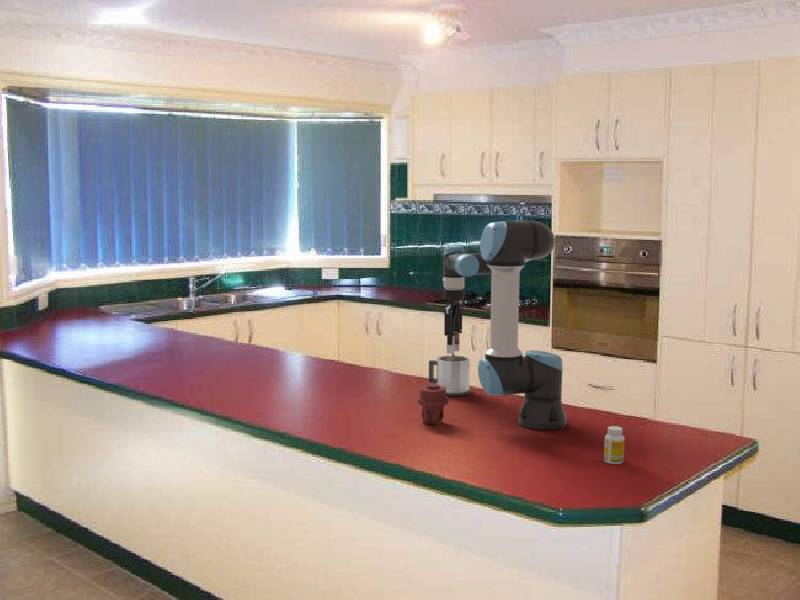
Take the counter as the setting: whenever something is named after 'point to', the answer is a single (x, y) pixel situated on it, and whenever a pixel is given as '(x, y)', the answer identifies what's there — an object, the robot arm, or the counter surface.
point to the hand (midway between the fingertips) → (453, 352)
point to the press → (451, 374)
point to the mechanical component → (432, 403)
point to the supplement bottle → (614, 445)
